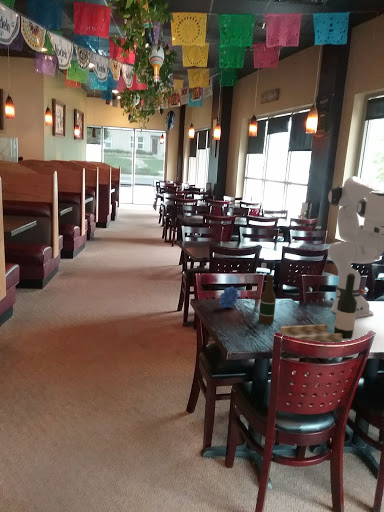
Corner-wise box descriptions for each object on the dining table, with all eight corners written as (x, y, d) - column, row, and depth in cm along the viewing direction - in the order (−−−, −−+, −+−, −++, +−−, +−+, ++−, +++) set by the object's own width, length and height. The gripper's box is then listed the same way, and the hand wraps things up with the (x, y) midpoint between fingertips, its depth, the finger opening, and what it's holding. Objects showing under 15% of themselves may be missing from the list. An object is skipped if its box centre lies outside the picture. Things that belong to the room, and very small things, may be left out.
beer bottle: (275, 325, 207) (280, 277, 202) (259, 324, 206) (264, 277, 201) (271, 319, 214) (276, 273, 209) (256, 319, 213) (260, 273, 209)
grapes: (233, 304, 235) (235, 283, 232) (239, 308, 229) (241, 287, 226) (215, 306, 230) (216, 285, 227) (221, 310, 224) (223, 288, 221)
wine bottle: (353, 340, 193) (362, 276, 187) (334, 337, 195) (343, 274, 189) (350, 333, 201) (359, 272, 195) (332, 331, 203) (340, 270, 197)
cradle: (324, 331, 202) (325, 324, 202) (341, 341, 190) (342, 334, 190) (279, 334, 195) (280, 326, 195) (294, 345, 183) (295, 337, 183)
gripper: (353, 224, 200) (349, 252, 202) (383, 230, 180) (379, 262, 183) (364, 224, 201) (360, 253, 204) (395, 230, 182) (391, 262, 185)
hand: (369, 257), depth 193 cm, fingers open, 8 cm apart
